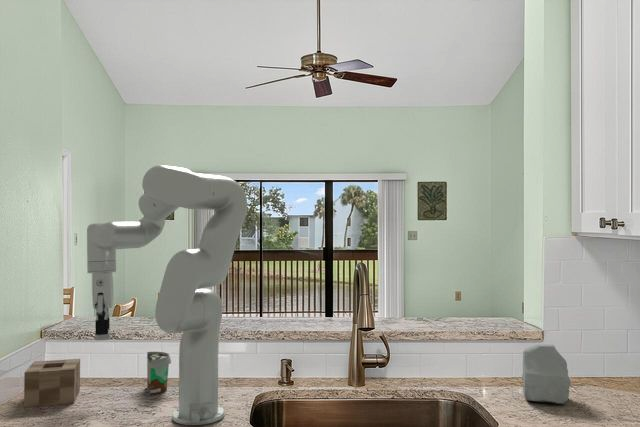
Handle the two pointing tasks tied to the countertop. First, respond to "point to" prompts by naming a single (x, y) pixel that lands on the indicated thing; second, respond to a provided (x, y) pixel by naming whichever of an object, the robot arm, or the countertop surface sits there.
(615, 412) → the countertop surface
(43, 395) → the socket block
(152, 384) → the food container
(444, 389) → the countertop surface
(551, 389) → the stone
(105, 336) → the rook chess piece
